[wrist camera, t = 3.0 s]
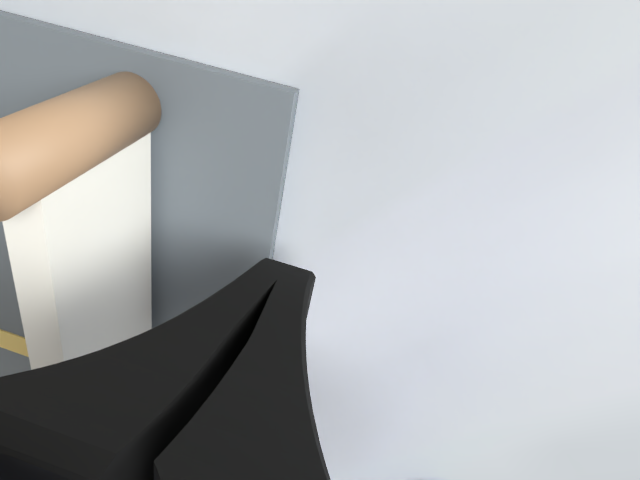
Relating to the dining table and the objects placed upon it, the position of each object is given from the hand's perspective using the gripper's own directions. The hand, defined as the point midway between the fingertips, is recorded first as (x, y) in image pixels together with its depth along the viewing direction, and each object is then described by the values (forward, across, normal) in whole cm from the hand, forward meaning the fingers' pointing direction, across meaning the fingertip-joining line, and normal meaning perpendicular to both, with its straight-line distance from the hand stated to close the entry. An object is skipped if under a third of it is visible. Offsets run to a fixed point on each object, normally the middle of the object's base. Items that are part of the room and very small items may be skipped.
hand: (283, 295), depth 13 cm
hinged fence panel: (+1, +5, +1) cm, 5 cm away
